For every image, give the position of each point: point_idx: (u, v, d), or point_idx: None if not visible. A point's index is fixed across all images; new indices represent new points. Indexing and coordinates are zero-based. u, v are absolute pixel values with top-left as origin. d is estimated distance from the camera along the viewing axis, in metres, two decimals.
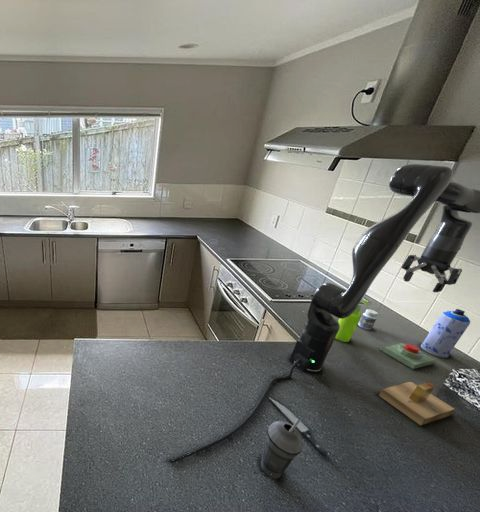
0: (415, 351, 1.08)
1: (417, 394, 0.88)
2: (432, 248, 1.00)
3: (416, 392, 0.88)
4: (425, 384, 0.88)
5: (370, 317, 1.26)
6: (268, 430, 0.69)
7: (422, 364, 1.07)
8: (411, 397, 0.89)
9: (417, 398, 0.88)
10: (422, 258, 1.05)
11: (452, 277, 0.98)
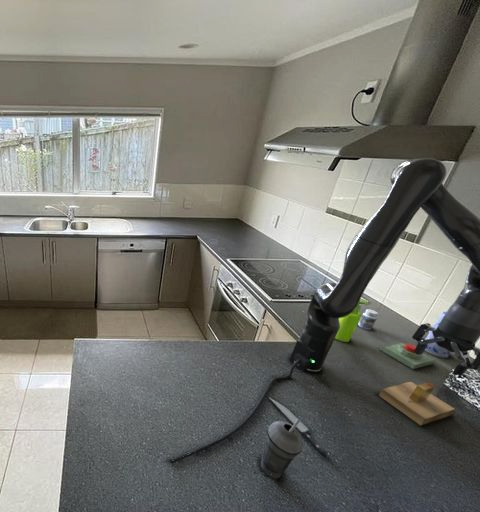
0: None
1: (417, 394, 0.88)
2: (452, 322, 0.80)
3: (416, 392, 0.88)
4: (425, 384, 0.88)
5: (370, 317, 1.26)
6: (268, 430, 0.69)
7: (422, 364, 1.07)
8: (411, 397, 0.89)
9: (417, 398, 0.88)
10: (438, 330, 0.84)
11: (478, 361, 0.77)
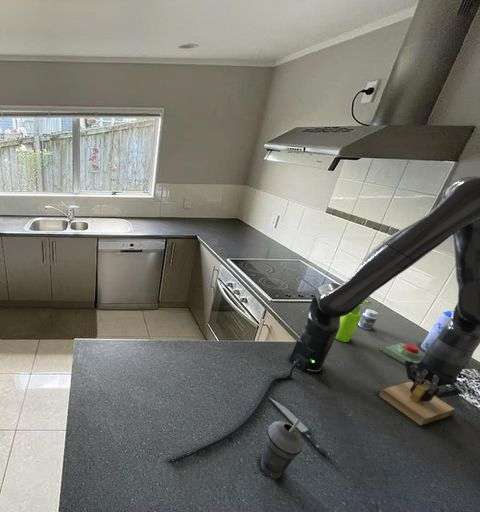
0: (415, 351, 1.08)
1: (417, 394, 0.88)
2: (434, 357, 0.83)
3: (416, 392, 0.88)
4: (425, 384, 0.88)
5: (370, 317, 1.26)
6: (268, 430, 0.69)
7: None
8: (411, 397, 0.89)
9: (417, 398, 0.88)
10: (422, 363, 0.87)
11: (447, 394, 0.82)
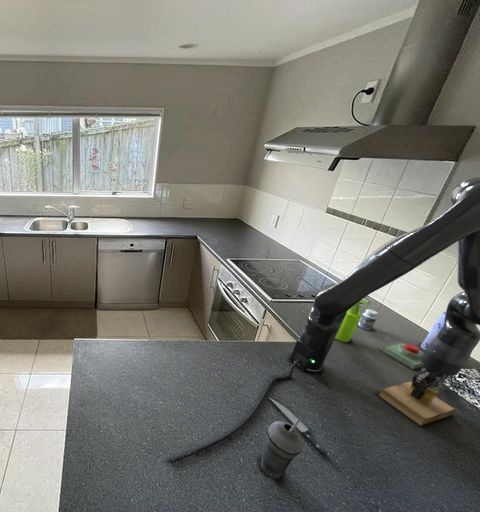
0: (415, 351, 1.08)
1: (432, 399, 0.87)
2: (460, 365, 0.80)
3: (432, 398, 0.86)
4: None
5: (370, 317, 1.26)
6: (268, 430, 0.69)
7: (422, 364, 1.07)
8: (428, 404, 0.87)
9: (431, 401, 0.87)
10: (434, 373, 0.84)
11: (442, 380, 0.87)
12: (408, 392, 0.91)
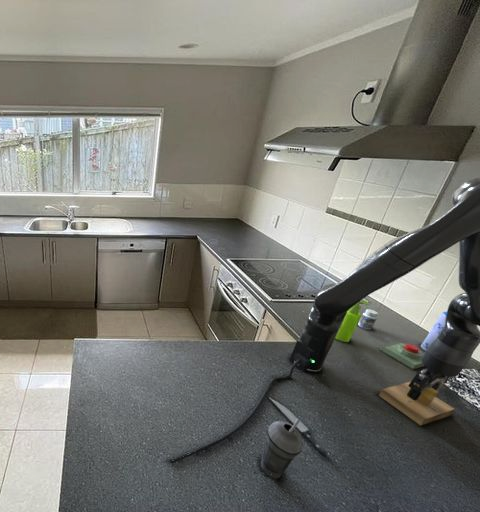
0: (415, 351, 1.08)
1: (432, 399, 0.87)
2: (461, 366, 0.80)
3: (432, 398, 0.86)
4: None
5: (370, 317, 1.26)
6: (268, 430, 0.69)
7: (422, 364, 1.07)
8: (428, 404, 0.87)
9: (431, 401, 0.87)
10: (435, 374, 0.83)
11: (449, 376, 0.87)
12: None
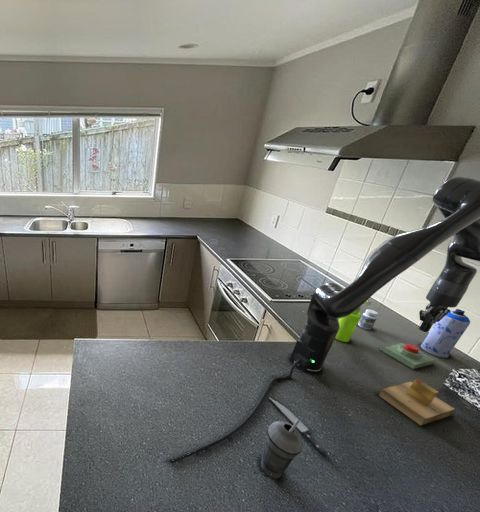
0: (415, 351, 1.08)
1: (432, 399, 0.87)
2: (459, 298, 0.97)
3: (432, 398, 0.86)
4: (422, 384, 0.88)
5: (370, 317, 1.26)
6: (268, 430, 0.69)
7: (422, 364, 1.07)
8: (428, 404, 0.87)
9: (431, 401, 0.87)
10: (437, 307, 1.00)
11: (443, 316, 1.04)
12: (408, 392, 0.91)
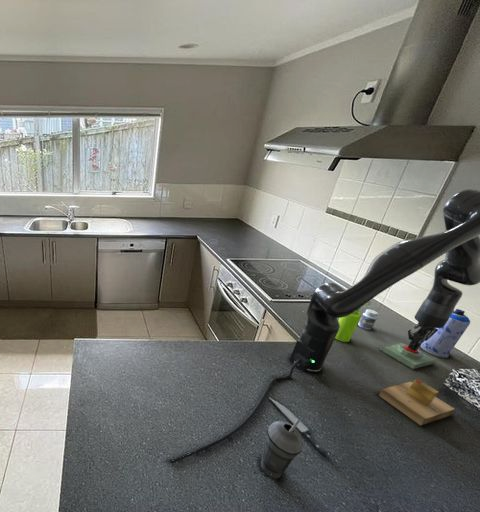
0: None
1: (432, 399, 0.87)
2: (445, 319, 1.00)
3: (432, 398, 0.86)
4: (422, 384, 0.88)
5: (370, 317, 1.26)
6: (268, 430, 0.69)
7: (422, 364, 1.07)
8: (428, 404, 0.87)
9: (431, 401, 0.87)
10: (425, 327, 1.04)
11: (431, 335, 1.07)
12: (408, 392, 0.91)
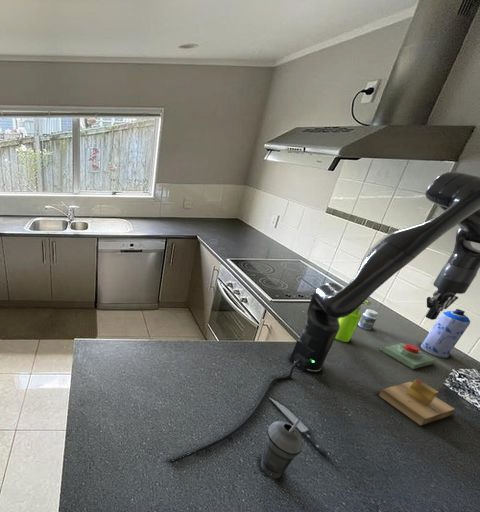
0: (415, 351, 1.08)
1: (432, 399, 0.87)
2: (467, 284, 0.94)
3: (432, 398, 0.86)
4: (422, 384, 0.88)
5: (370, 317, 1.26)
6: (268, 430, 0.69)
7: (422, 364, 1.07)
8: (428, 404, 0.87)
9: (431, 401, 0.87)
10: (445, 293, 0.98)
11: (451, 303, 1.02)
12: (408, 392, 0.91)
